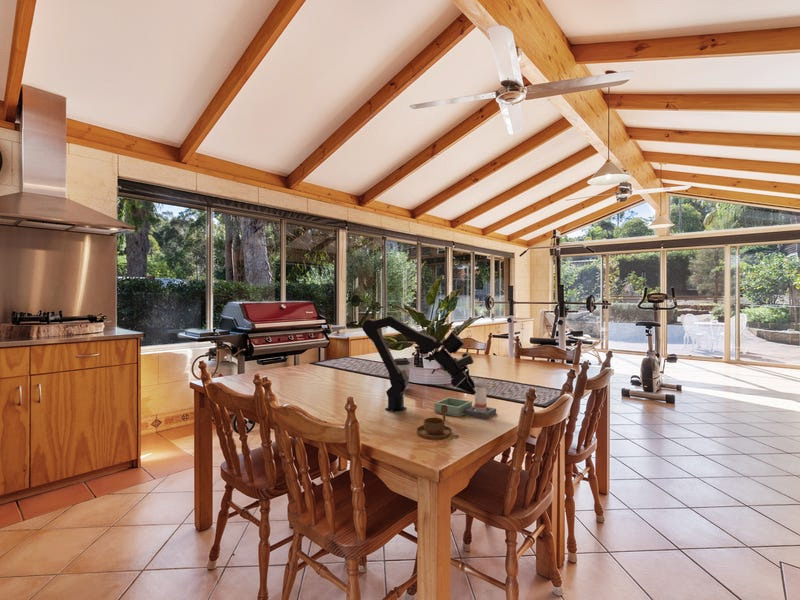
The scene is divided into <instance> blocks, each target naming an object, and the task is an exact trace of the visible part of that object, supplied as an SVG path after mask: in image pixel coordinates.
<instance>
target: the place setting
mask: <svg viewBox="0 0 800 600" xmlns="http://www.w3.org/2000/svg"><path fill="white" fill-rule="evenodd" d="M447 409H448V407H447V406H446V405H442V406H441V412H442V413H441V414H443V415H442V418H440V417H427V418H425V419H424V420H423V425H420V426H418V427H417V428H416V434H417V435H418V436H419V437H421V438H424V439H430V440H442V439H446V438H449V437H450V436H451V435H452V433H453V430H452V428H451V427H450V426H448V425H445V422H446V419H447V417H446V415H447V414H446V413H447ZM422 430H425V432H427V433H428V434H424V433H422V432H421V431H422ZM444 430H445V431H447V432H448V433H445V434H441V433H442V432H443V431H444ZM459 437H460V435H459V434H456V435H452V436H451V437H450V438H449V439H447V440H448V441H451V440H455V439H458V438H459Z"/></svg>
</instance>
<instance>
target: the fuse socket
mask: <svg viewBox="0 0 800 600" xmlns="http://www.w3.org/2000/svg"><path fill="white" fill-rule="evenodd" d="M474 409H475V404H474V405H472V407H470V408H468V409H466V410H465V414H464V416H466V417H472V418H477V419H481V420H488V419H490V418H491V417H493V416H495V415H497V408H495V407H489V406H486V410H487V411H486V412H478V411H474Z"/></svg>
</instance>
